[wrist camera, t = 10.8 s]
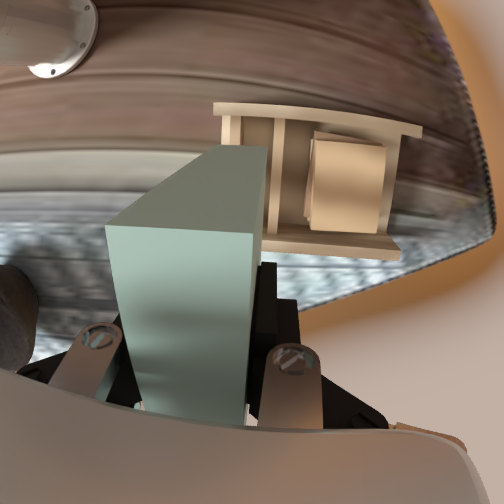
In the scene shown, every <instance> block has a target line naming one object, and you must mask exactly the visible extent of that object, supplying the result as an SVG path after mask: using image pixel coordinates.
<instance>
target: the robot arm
mask: <svg viewBox="0 0 504 504" xmlns="http://www.w3.org/2000/svg"><path fill="white" fill-rule="evenodd" d="M97 29H98V12H97V9H96V6H95V4H94V3H93V2H92V1H91V0H0V65H5V66H28V68H29V69H30V71H31V72H32V73H33V74H34V75H36V76H38V77H41V78H57V77H60V76H63V75H65V74H67V73H68V72H70V71H72V70H73V69H74V68H75V67H76V66H77V65H79V63H80V62H81V61H82V60H83V59H84V58H85V56H86V55H87V53H88V52H89V50H90V48H91V46H92V44H93V42H94V40H95V37H96V34H97ZM320 368H321V367H320V360H319V357H318V355H317V354H316V353H315V352H314V351H313V350H312V349H310V348H309V347H306V346H304V345H301V341H300V330H299V320H298V308H297V300H294V299H279V298H277V263H274V262H261V266H260V265H258V266H257V275H256V284H255V293H254V303H253V312H252V321H251V330H250V344H249V361H248V379H247V396H246V404H250V407H249V414H251V415H252V416H254V417H255V418H256V419H257V420H258V424H257V426H246V425H235V424H225V423H217V422H209V421H202V420H194V419H188V418H181V417H175V416H169V415H164V414H158V413H153V412H148V411H143V410H140V408H141V402H140V401H142V398H141V394H140V391H139V388H138V384H137V381H136V377H135V374H134V370H133V366H132V363H131V359H130V355H129V351H128V347H127V343H126V339H125V335H124V330H123V326H122V322H121V317H120V313H119V314H118V316H117V317H116V319H115V320H114V322H113V323H112V324H111V323H105V322H100V323H95V324H92V325H89V326H87V327H86V328H84V329H83V330H82V331H81V332H80V333H79V334H78V336H77V337H76V339H75V341H74V342H73V344H72V345H71V347H70V348H69V350H68V351H66V352H63V353H60V354H57V355H54V356H51V357H48V358H45V359H42V360H39V361H36V362H34V363H31V364H28V365H26V366H23V367H22V368H21V369H19V370H18V371H17V372H16V373H15V371H14V370H10V371H8V370H5V369H2V368H0V504H490V502H489V499H488V496H487V493H486V490H485V487H484V485H483V482H482V480H481V478H480V475H479V473H478V471H477V469H476V468H475V466H474V464H473V462H472V461H471V459H470V457H469V456H468V455H467V449H466V447H465V445H464V443H463V442H462V441H460V440H459V439H458V438H456V437H453V436H450V435H446V434H442V433H437V432H433V431H429V430H424V429H421V428H417V427H413V426H410V425H406V424H402V423H398V422H397V423H396V425H391V424H388V422H387V420H386V419H385V417H384V416H383V415H381V413H379V412H378V411H377V410H375V409H373V408H372V407H370V406H369V405H367V404H365V403H364V402H362V401H361V400H359V399H358V398H356V397H355V396H353V395H351V394H350V393H349V392H347V391H345V390H344V389H342V388H341V387H339V386H338V385H336V384H335V383H333V382H332V381H330V380H329V379H327V378H326V377H324V376H323V375H321V369H320Z"/></svg>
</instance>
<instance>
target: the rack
mask: <svg viewBox="0 0 504 504" xmlns="http://www.w3.org/2000/svg"><path fill="white" fill-rule="evenodd" d="M213 115H222V141H221V145H244V146H263V147H267V164H266V181H265V198H264V214H263V230H262V245H261V251H268V252H282V253H296V254H310V255H323V256H337V257H351V258H365V259H378V260H392V261H399V259H400V254H401V250H400V248H399V247H398V246H397V245H396V244H395V242H394V241H393V240H392V239H391V237H390V236H389V235H388V234H387V233H386V230H387V225H388V220H389V214H390V209H391V203H392V197H393V191H394V185H395V178H396V172H397V165H398V157H399V149H400V141H401V134H403V135H408V136H413V137H418V138H421V137H422V128H423V127H422V126H418V125H414V124H409V123H404V122H399V121H394V120H389V119H384V118H378V117H373V116H367V115H360V114H354V113H347V112H340V111H332V110H324V109H316V108H306V107H295V106H283V105H269V104H250V103H214V107H213ZM314 130H315V131H321V132H327V133H333V134H339V135H344V136H350V137H355V138H360V139H365V140H370V141H374V142H379V143H382V144H383V146H384V147H387V151H386V162H385V172H384V181H383V190H382V198H381V205H380V213H379V219H378V226H377V233H360V232H341V231H320V230H311V229H310V225H309V223H310V221H307V217H304V216H303V206H304V199H305V193H306V186H307V180H308V168H309V138H313V137H314Z"/></svg>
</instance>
